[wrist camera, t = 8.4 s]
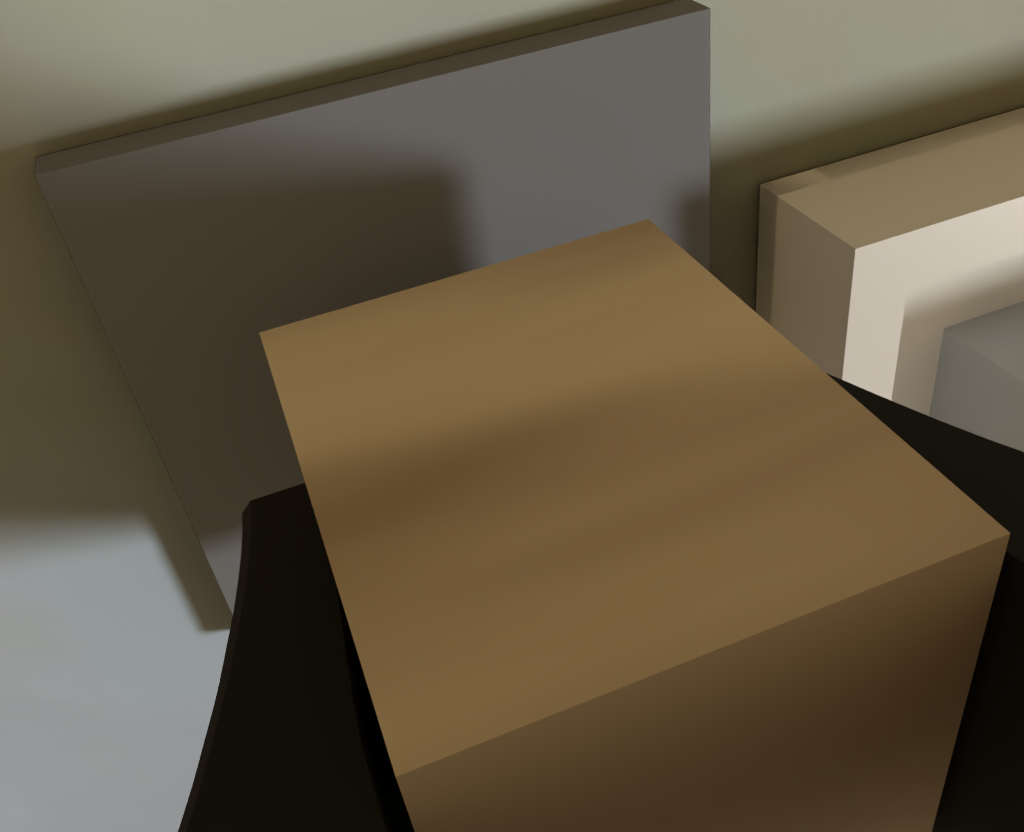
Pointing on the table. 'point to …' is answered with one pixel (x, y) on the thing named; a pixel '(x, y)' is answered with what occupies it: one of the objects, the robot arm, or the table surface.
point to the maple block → (632, 554)
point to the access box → (909, 272)
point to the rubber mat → (364, 218)
